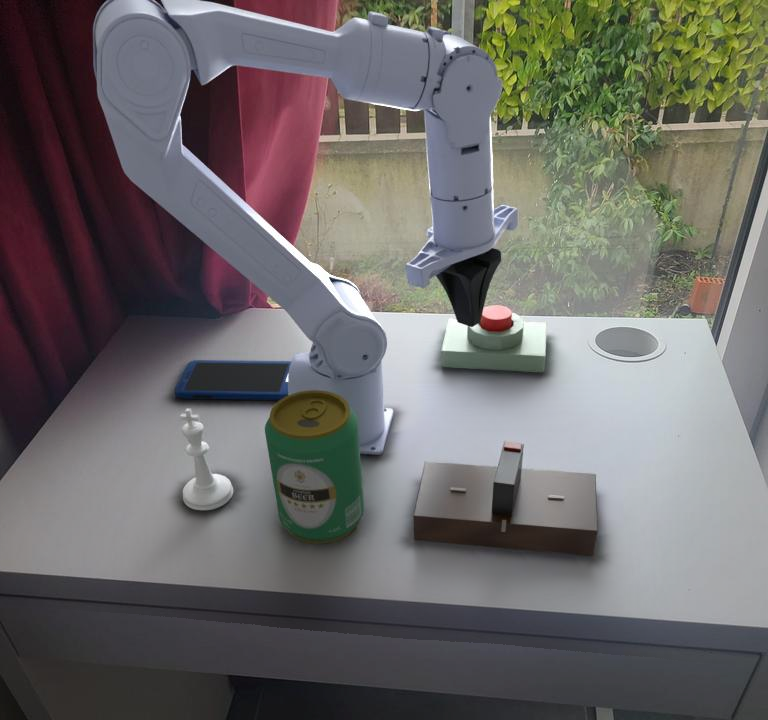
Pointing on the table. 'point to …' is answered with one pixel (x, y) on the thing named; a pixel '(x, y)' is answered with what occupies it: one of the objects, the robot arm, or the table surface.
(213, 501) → the chess piece
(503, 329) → the button
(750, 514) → the table surface
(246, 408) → the table surface
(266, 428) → the beverage can
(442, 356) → the button box
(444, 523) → the panel
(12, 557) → the table surface
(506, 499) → the dark grey rectangular block
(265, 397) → the cell phone
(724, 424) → the table surface
